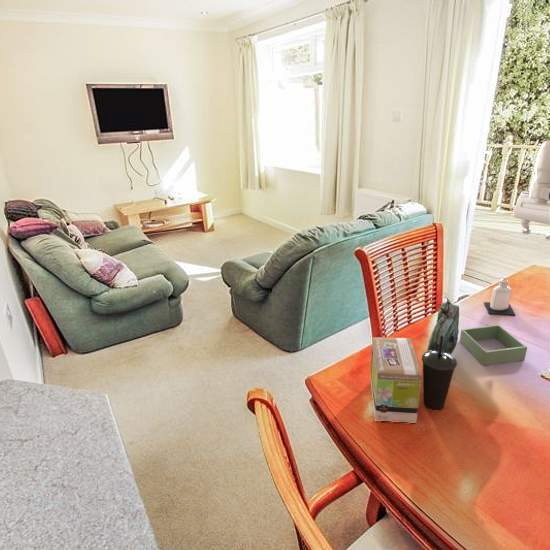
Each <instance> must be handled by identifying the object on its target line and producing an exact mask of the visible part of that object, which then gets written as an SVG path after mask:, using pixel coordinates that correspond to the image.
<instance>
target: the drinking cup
mask: <svg viewBox="0 0 550 550" xmlns="http://www.w3.org/2000/svg"><path fill="white" fill-rule="evenodd" d="M442 345H443V336H440V343H439V350H430V351H427V350H426V351H424V353H423V354H422V355H421V361H422V403H423V405H424V407H425V408H426V409H428V408H429V409H428V410H430V409H431V410H430V411H433V410H439V411H441V409H442V410H443V409H445V408H444V407H445V404H446V400H447V396H448V394H449V390H450V386H451V382H452V379H453V375H454V373H455V372H454V371H455V369H456V368H457V366H458V361H457V359H456V358H455V356H454V355H452V354H449V353H447V352H444V351H442Z"/></svg>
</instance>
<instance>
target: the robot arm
mask: <svg viewBox="0 0 550 550" xmlns="http://www.w3.org/2000/svg"><path fill="white" fill-rule="evenodd" d="M534 171H535V172H534V173H535V174H534V177H533V179H532V181H531V185H530V189H529V190H523V191H521V193H520V194H519V196H518V198H517V200H516V203H515V206H514V210H513V218H514V219H519V220H521V221H520V223H521V227H522V232H521V233H522V234H524V235H530V234H531V231H532V228H531V227H530V223H531V222H534V223H539V224H544V225H548V226H550V138H549V139H547V140H545V141H544V142H543V143H542V144H541V145H540V148H539V151H538V153H537V158H536V162H535V166H534ZM545 239H546V240H548V241H550V232H549V233H546V235H545Z"/></svg>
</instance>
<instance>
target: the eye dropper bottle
mask: <svg viewBox="0 0 550 550" xmlns="http://www.w3.org/2000/svg"><path fill="white" fill-rule="evenodd" d="M512 291H513V290H512V288H511V287H510V286H509V280H508V279H507V276H503V277H502V279H500V280H499V283H498V285H497V286H495V287H494V288H493V289H492V292H491V299H490V303H491V304H490V307H491V308H492V309H493V310H505V309H508V307H509V304H510V302H511V297H512Z"/></svg>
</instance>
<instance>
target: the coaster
mask: <svg viewBox="0 0 550 550" xmlns="http://www.w3.org/2000/svg"><path fill="white" fill-rule="evenodd" d="M483 304H484V306H485V308H486V311H487V314H488V315H493V316H494V315H495V316H510V317H515V316H516V313H515V311H514V309H513V308H512V306H511V304H510V303H509V307H508V309H505V310H493V309H492V308H491V307H490V304H491V301H490V302H487V301H484V303H483Z"/></svg>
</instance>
